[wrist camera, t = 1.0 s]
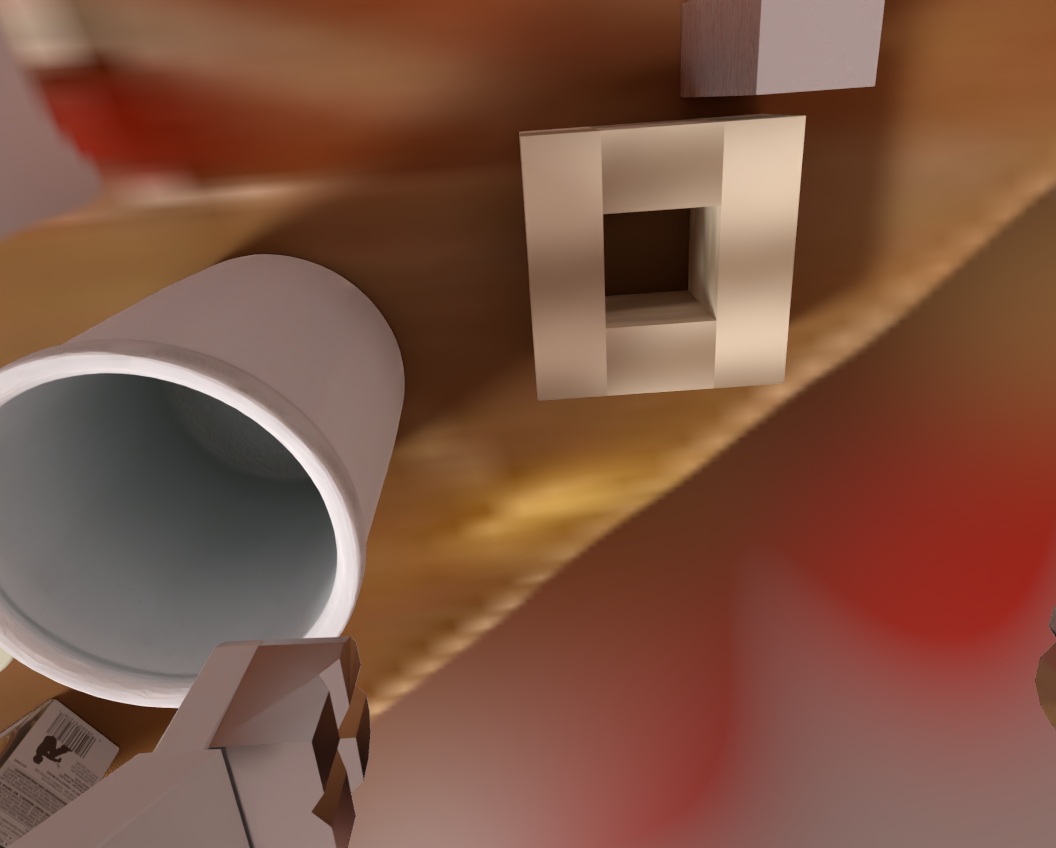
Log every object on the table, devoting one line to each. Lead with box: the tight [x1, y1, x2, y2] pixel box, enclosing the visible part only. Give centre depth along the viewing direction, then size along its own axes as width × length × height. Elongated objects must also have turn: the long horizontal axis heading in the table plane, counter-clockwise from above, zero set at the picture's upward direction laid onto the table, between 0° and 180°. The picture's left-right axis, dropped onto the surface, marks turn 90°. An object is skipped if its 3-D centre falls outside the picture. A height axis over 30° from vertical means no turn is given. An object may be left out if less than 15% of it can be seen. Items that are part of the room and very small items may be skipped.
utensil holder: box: [0, 254, 405, 708], centre depth 33 cm, size 15×15×18 cm
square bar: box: [680, 0, 885, 98], centre depth 29 cm, size 4×4×12 cm
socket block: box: [519, 114, 806, 401], centre depth 35 cm, size 12×12×6 cm
